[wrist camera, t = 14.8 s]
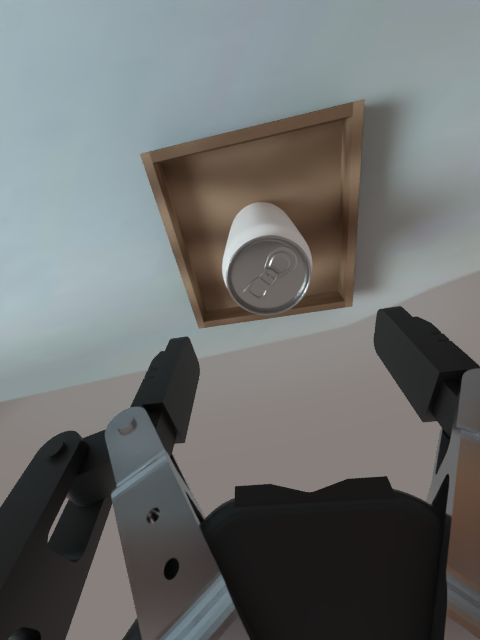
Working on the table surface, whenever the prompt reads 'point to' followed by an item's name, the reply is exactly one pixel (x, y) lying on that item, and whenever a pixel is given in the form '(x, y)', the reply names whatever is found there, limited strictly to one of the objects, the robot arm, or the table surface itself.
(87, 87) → the table surface
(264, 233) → the can
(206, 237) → the tray
